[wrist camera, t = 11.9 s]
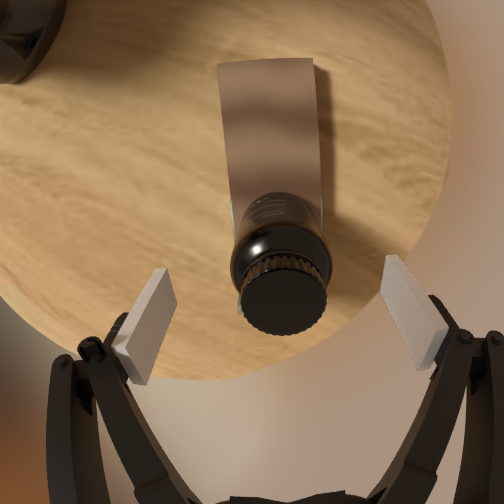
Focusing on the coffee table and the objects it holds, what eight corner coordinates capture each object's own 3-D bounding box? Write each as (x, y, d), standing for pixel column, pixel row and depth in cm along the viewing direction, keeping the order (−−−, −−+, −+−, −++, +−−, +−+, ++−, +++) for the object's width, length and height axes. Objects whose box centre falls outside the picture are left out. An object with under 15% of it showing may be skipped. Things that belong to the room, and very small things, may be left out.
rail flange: (218, 68, 21) (203, 53, 16) (311, 62, 20) (324, 46, 15) (241, 280, 31) (236, 315, 25) (318, 276, 30) (327, 311, 25)
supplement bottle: (327, 237, 26) (361, 321, 15) (265, 269, 28) (261, 363, 17) (292, 174, 23) (313, 225, 13) (226, 212, 25) (195, 286, 15)
